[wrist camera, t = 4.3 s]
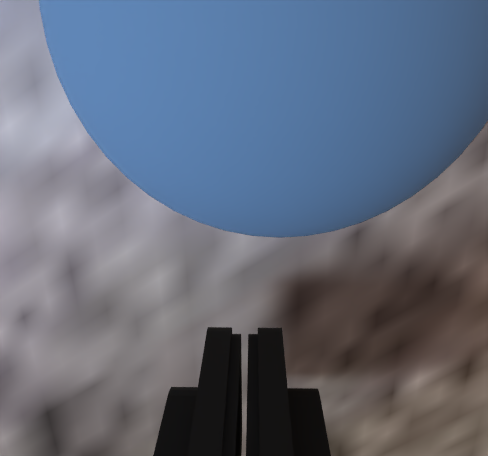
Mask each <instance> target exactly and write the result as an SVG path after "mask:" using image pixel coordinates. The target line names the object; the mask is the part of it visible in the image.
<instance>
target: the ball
mask: <svg viewBox="0 0 488 456" xmlns="http://www.w3.org/2000/svg"><path fill="white" fill-rule="evenodd" d="M39 4H40V12H41V17H42V22H43V26H44V31H45V36H46V41H47V45H48V48H49V51H50V54H51V57H52V60H53V63H54V66H55V70H56V73H57V76H58V78H59V80H60V82H61V84H62V87H63V89H64V91H65V93H66V95H67V97H68V100H69V102H70V104H71V106H72V108H73V109H74V111H75V113H76V114H77V116H78V118H79V119H80V121H81V122H82V124H83V126H84V127H85V129H86V131H87V132H88V134H89V135H90V136H91V138H92V139H93V140H94V141H95V143H96V144H97V145H98V147H99V148H100V149H101V150H102V152H103V153H104V154H105V155H106V157H107V158H108V159H109V160H110V161H111V162H112V163H113V164H114V165H115V166H116V167H117V168H118V169H119V170H120V171H121V172H122V173H123V174H124V175H125V176H126V177H127V178H128V179H129V180H131V181H132V182H133V183H134V184H136V185H137V186H138V187H139V188H141V189H142V190H143V191H144V192H146V193H147V194H148V195H149V196H151V197H153V198H154V199H156V200H157V201H159V202H161V203H162V204H164V205H166V206H167V207H169V208H170V209H172V210H174V211H176V212H178V213H180V214H182V215H184V216H187V217H189V218H191V219H193V220H195V221H198V222H200V223H203V224H206V225H209V226H212V227H216V228H219V229H222V230H225V231H230V232H235V233H240V234H246V235H251V236H265V237H296V236H309V235H314V234H320V233H325V232H331V231H335V230H339V229H342V228H345V227H348V226H352V225H355V224H358V223H361V222H364V221H366V220H368V219H370V218H373V217H375V216H377V215H379V214H382V213H384V212H386V211H388V210H390V209H391V208H393V207H395V206H397V205H398V204H400V203H402V202H403V201H405V200H407V199H408V198H410V197H412V196H413V195H415V194H416V193H417V192H419V191H420V190H421V189H423V188H424V187H425V186H426V185H428V184H429V183H430V182H432V181H433V180H434V179H436V178H437V177H438V176H439V175H440V174H441V173H442V172H443V171H444V170H445V169H446V168H447V167H449V166H450V165H451V164H452V163H453V162H454V161H455V160H456V159H457V158H458V157H459V156H460V155H461V154H462V152H463V151H464V150H465V149H466V148H467V146H468V145H469V144H470V143H471V142H472V140H473V139H474V138H475V137H476V136H477V134H478V133H479V132H480V131H481V129H482V128H483V127H484V125H485V124H486V122H487V121H488V0H39Z"/></svg>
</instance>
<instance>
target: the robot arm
mask: <svg viewBox="0 0 488 456" xmlns="http://www.w3.org/2000/svg"><path fill="white" fill-rule="evenodd" d="M241 449H242V376H241V334H232V328H217V327H208V329H207V335H206V341H205V347H204V353H203V359H202V366H201V372H200V378H199V384H198V387H171V389H170V391H169V394H168V397H167V402H166V406H165V410H164V414H163V418H162V422H161V426H160V431H159V435H158V439H157V443H156V447H155V451H154V455H153V456H241ZM246 456H331V455H330V449H329V444H328V438H327V433H326V427H325V422H324V416H323V411H322V405H321V400H320V395H319V391H318V389H297V388H287V378H286V368H285V357H284V347H283V336H282V328H258V334H249V335H248V385H247V435H246Z"/></svg>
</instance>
